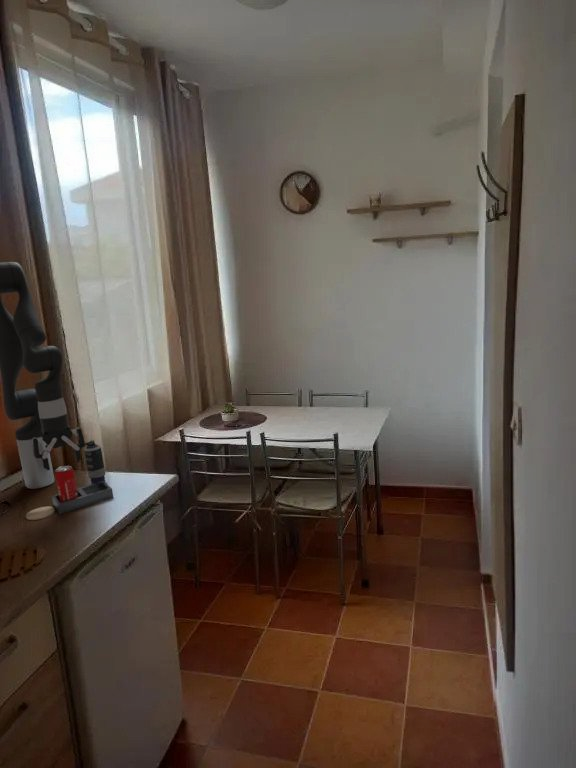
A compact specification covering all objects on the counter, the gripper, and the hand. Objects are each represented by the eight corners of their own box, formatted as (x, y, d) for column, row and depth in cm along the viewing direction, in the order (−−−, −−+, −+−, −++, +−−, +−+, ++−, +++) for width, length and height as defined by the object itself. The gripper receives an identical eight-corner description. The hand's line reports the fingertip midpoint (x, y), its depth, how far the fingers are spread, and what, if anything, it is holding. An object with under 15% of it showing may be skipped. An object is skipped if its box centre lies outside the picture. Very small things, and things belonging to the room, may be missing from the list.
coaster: (24, 514, 163) (23, 512, 163) (52, 505, 167) (51, 504, 167) (28, 522, 156) (28, 520, 156) (57, 513, 161) (57, 512, 160)
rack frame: (53, 504, 168) (51, 495, 167) (105, 489, 176) (103, 480, 176) (59, 513, 160) (58, 504, 160) (113, 497, 169) (112, 488, 168)
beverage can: (73, 508, 163) (66, 471, 161) (57, 509, 164) (50, 471, 162) (82, 501, 168) (75, 465, 166) (67, 501, 169) (60, 465, 167)
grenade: (101, 486, 180) (94, 443, 177) (82, 486, 181) (75, 443, 178) (109, 479, 185) (102, 438, 182) (91, 480, 186) (84, 438, 183)
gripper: (74, 407, 167) (83, 457, 170) (25, 417, 160) (35, 469, 163) (81, 410, 161) (90, 462, 164) (29, 421, 153) (40, 475, 156)
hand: (63, 465), depth 163 cm, fingers open, 8 cm apart
